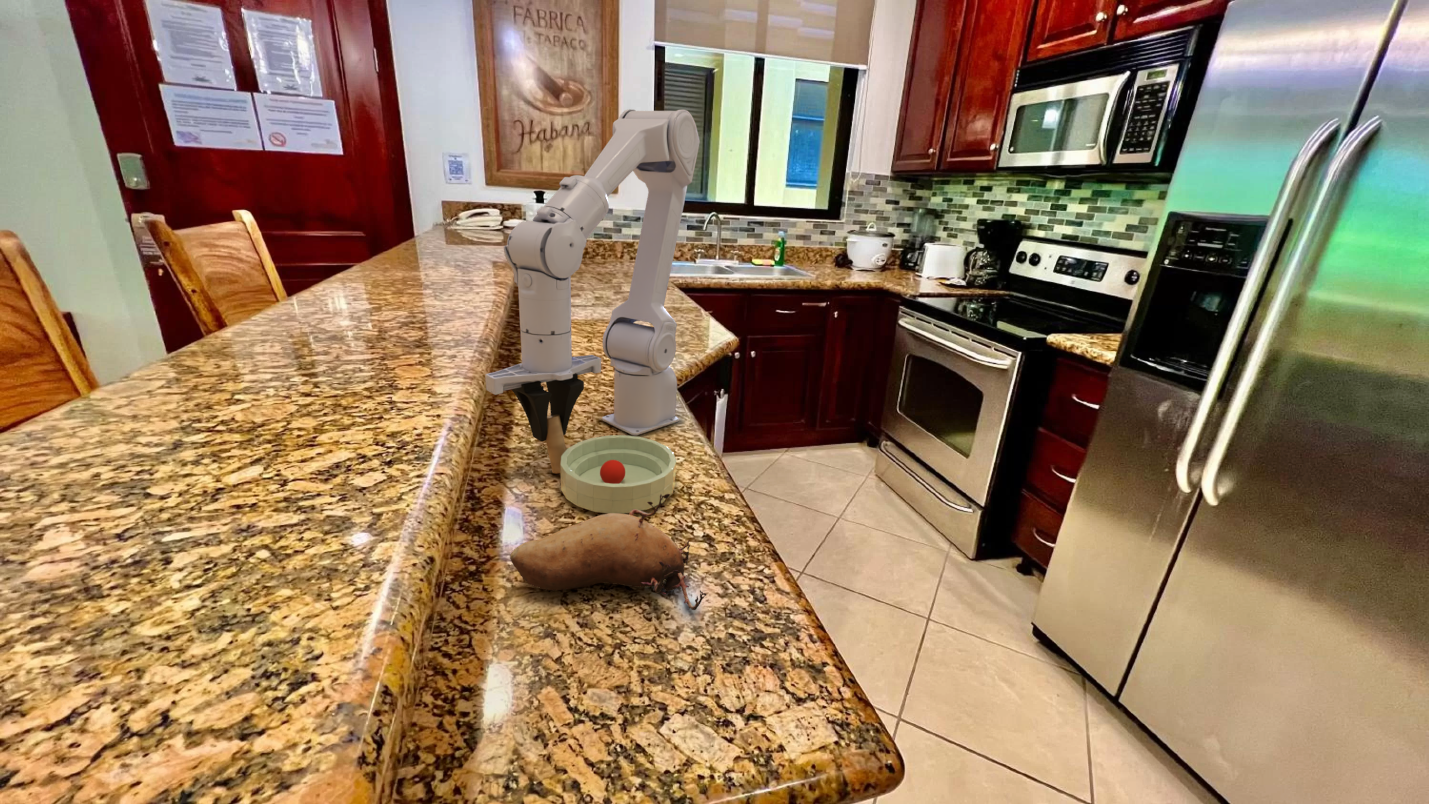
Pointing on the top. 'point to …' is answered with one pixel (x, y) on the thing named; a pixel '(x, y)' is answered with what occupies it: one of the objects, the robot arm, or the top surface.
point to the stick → (555, 442)
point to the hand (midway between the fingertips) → (549, 435)
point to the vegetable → (605, 555)
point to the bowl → (643, 481)
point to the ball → (612, 472)
